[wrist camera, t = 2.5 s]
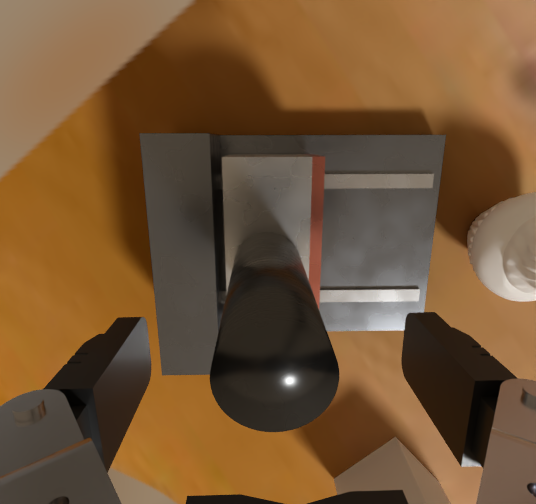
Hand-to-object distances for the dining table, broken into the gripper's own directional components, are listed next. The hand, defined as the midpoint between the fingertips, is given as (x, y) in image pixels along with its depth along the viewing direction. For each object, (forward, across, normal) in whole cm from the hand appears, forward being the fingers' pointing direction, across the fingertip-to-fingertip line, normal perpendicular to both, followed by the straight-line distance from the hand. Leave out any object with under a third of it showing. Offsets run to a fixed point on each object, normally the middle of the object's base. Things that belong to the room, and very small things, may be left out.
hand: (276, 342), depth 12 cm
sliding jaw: (+11, 0, 0) cm, 11 cm away
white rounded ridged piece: (+13, -14, 0) cm, 19 cm away
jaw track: (+13, -2, 0) cm, 13 cm away
